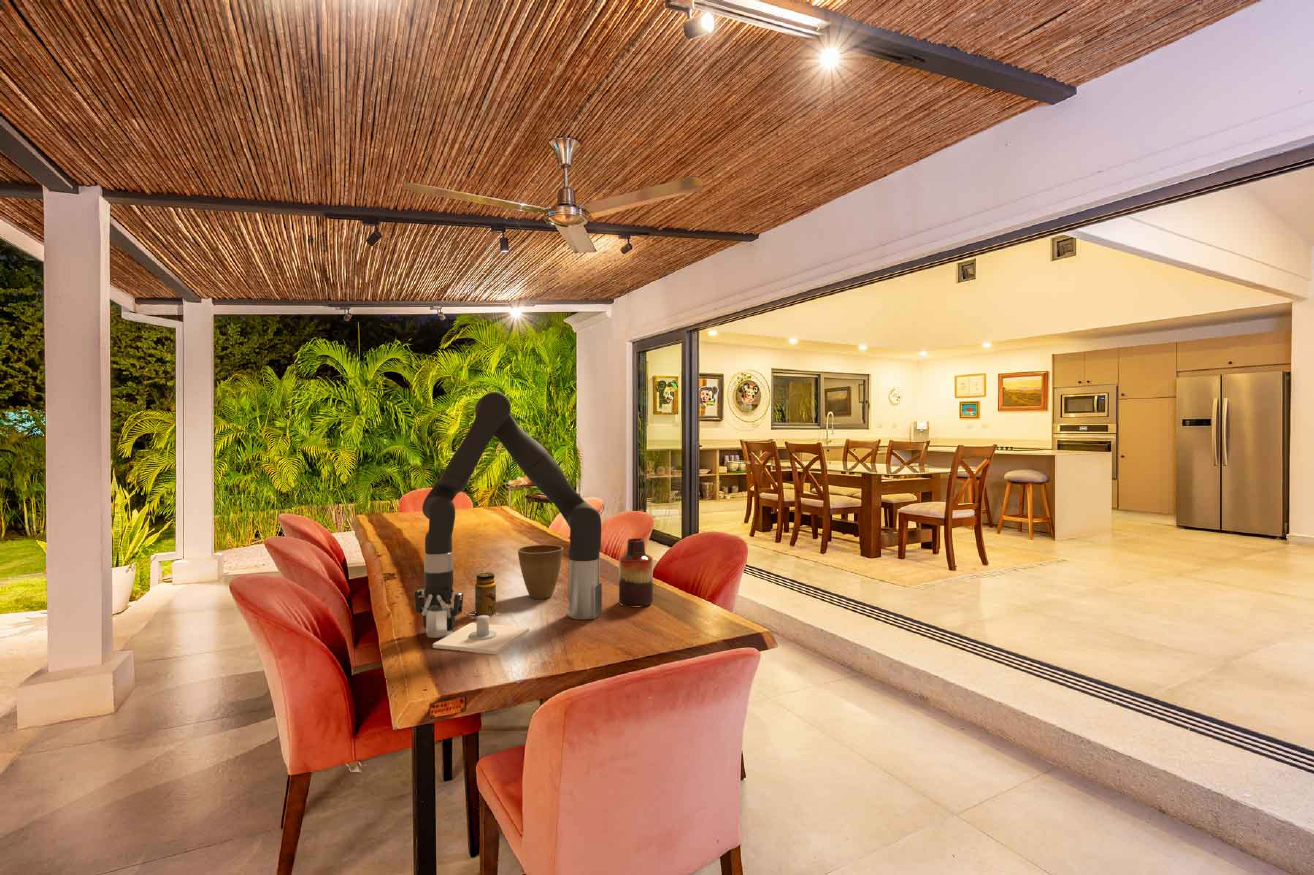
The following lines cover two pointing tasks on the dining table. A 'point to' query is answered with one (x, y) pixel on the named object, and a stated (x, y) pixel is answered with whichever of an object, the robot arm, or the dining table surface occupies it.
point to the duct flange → (481, 637)
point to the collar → (436, 622)
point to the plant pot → (540, 569)
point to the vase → (635, 575)
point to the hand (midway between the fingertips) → (439, 629)
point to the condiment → (484, 596)
